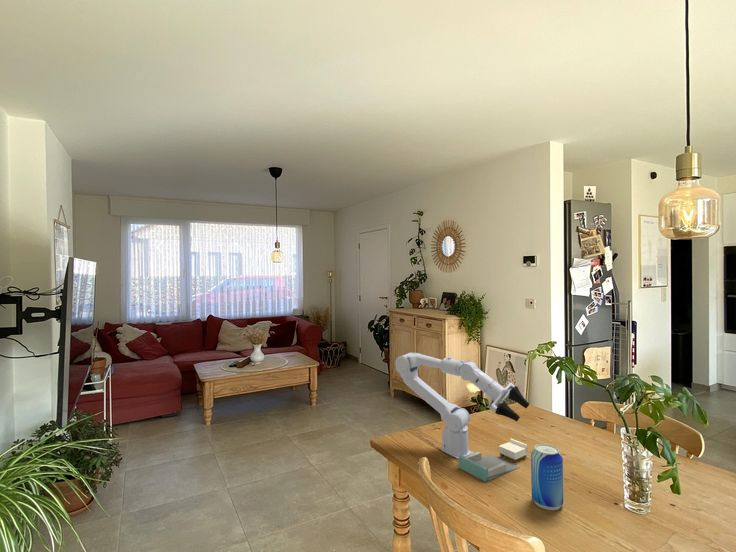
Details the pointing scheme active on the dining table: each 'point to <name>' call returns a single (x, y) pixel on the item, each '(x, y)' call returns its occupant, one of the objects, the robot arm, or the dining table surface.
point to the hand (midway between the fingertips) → (523, 412)
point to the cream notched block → (513, 449)
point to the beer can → (547, 477)
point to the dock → (485, 466)
